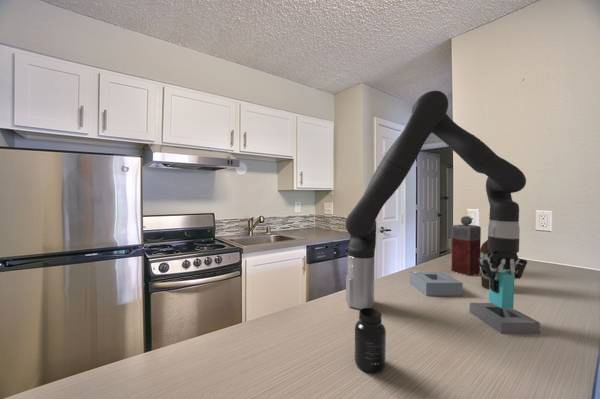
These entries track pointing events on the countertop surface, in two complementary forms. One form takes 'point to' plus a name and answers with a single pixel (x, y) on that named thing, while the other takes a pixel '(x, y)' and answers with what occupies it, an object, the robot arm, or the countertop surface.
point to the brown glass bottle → (484, 252)
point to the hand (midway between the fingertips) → (501, 291)
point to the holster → (504, 318)
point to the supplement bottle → (370, 341)
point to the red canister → (466, 247)
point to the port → (436, 284)
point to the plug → (503, 291)
